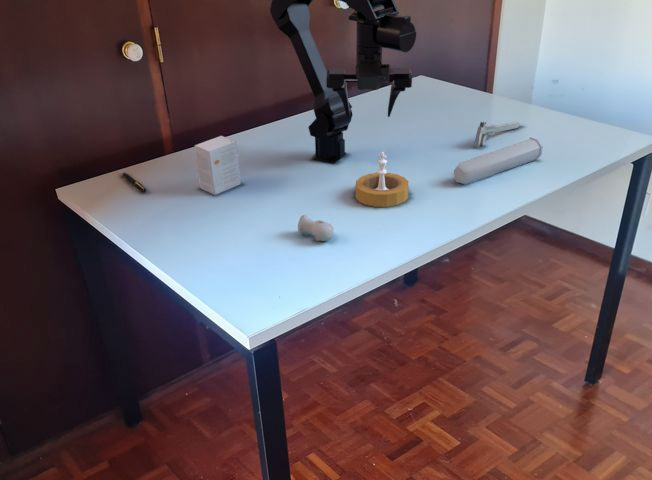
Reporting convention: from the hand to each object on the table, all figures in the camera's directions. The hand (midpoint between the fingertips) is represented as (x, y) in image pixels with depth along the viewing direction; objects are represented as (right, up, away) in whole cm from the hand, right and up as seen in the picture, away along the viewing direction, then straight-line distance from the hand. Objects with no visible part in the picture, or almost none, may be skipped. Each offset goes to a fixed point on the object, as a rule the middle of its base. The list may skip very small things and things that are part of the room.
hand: (368, 116), depth 162 cm
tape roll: (+3, -19, -4) cm, 20 cm away
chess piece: (+3, -19, -4) cm, 20 cm away
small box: (-34, -16, +3) cm, 38 cm away
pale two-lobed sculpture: (-12, -31, -18) cm, 37 cm away
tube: (+30, -12, +5) cm, 33 cm away
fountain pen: (-55, -14, +6) cm, 57 cm away
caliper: (+35, +2, +22) cm, 42 cm away
